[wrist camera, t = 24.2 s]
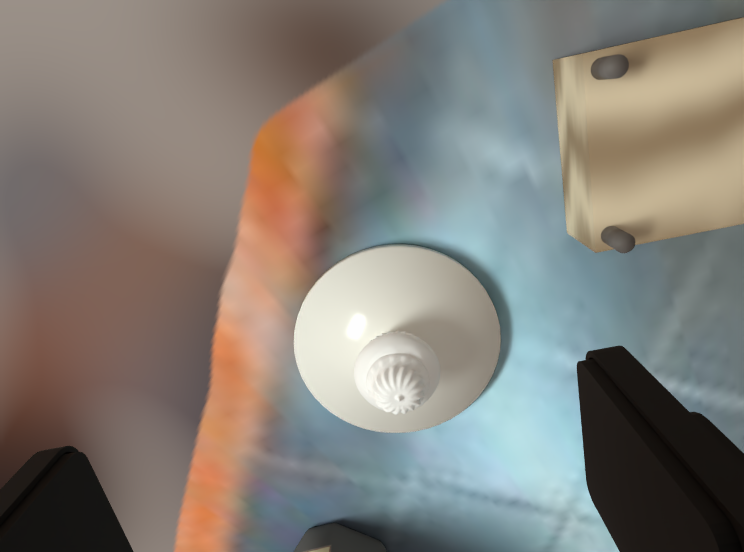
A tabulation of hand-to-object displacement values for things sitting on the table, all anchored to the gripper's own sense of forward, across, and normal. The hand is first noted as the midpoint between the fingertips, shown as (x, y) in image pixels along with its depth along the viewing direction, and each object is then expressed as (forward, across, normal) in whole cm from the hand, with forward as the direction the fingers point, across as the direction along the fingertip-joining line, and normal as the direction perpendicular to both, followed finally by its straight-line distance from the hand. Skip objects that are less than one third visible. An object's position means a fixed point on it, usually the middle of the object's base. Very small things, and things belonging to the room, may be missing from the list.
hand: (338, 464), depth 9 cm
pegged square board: (+28, -20, 0) cm, 35 cm away
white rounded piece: (+27, 0, +12) cm, 30 cm away
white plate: (+28, 0, +12) cm, 31 cm away
